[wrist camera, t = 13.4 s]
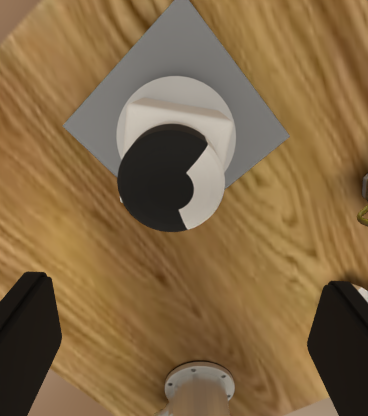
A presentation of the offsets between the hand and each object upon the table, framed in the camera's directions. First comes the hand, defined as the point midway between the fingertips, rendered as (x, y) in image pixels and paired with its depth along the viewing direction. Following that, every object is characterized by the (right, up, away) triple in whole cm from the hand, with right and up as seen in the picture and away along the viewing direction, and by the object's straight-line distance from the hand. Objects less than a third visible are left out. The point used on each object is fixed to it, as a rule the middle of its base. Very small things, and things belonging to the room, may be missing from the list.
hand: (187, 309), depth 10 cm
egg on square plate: (-1, +13, +23) cm, 26 cm away
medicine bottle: (-1, +10, +16) cm, 19 cm away
